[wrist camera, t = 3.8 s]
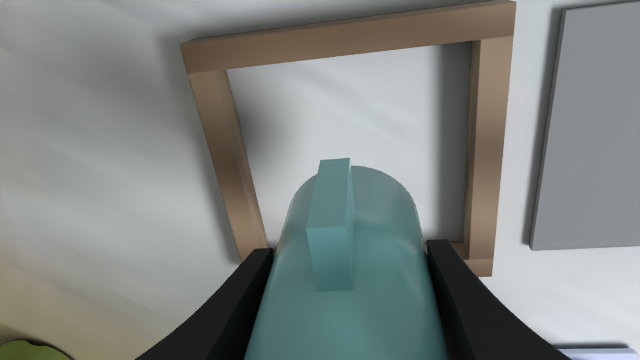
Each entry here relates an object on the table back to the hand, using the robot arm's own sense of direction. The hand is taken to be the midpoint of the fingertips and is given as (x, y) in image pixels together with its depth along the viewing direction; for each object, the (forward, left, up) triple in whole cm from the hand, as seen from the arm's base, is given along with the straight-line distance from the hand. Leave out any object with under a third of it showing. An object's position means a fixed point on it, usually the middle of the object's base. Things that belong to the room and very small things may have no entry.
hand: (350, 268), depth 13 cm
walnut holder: (0, 0, -8) cm, 8 cm away
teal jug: (0, 0, -2) cm, 2 cm away
